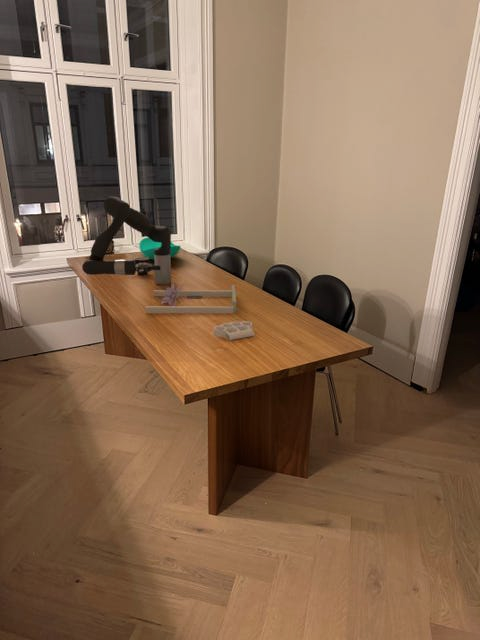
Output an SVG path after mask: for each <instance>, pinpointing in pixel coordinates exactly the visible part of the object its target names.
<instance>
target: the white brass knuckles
mask: <svg viewBox="0 0 480 640" xmlns="http://www.w3.org/2000/svg"><path fill="white" fill-rule="evenodd" d="M213 336H215V337H217V338H225V339H226V340H227V341H229V342H230V341H234V340H239V339H245V338H250V337H255V331H254V329H253V323H252V322H251V321H248V320H243V321H231V322H225V323H224V322H223V323H221V324H219V325H215V326H214V327H213Z"/></svg>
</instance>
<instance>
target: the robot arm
mask: <svg viewBox="0 0 480 640" xmlns="http://www.w3.org/2000/svg"><path fill="white" fill-rule="evenodd" d="M103 209H104V212H106V213H107V214H108V215H109V216H111V217H112V218H113V220H112V222H111V224H110V225H109V226H108V227H107V228H106V229H104V230H103V231H102V232H101V233H99V234H98V235H97V236H96V238H95V240H94V242H93V244H92V246H91V248H90V255H89V258H88V260H85V261H84V262H83V264H82V266H81V267H82V268H81V269H82V271H83V272H84V273H85V274H87V275H91V276H92V275H94V276H95V275H119V276H135V275H136V272H137V271H138V272H140V273H144V272H148V273H151V272H153V271H154V284H156V285H169V284H172V269H171V268H172V267H171V265H172V264H171V258H170V249H171V242H172V241H171V240H172V232H171V230H170V228H169V227H168V226H160V225H154V224H152V222H151V220H150V217H148V216H147V215H145V214H144V213H143V212H141V211H138V210H137V209H134V208H132V207H131V205H130V204H129V203H128V202H126V201H124V200H123V199H121V198H119V197H117V196H109V197H107V198H106V199H105V200H104V203H103ZM124 223H125V224H126V225H128V226H129V227H130V228H132V229H134V230H135V231H137V232H139V233H140V234H143V235H144V236H146V238H150V239H151V240H152V241H154V242H160V243H161V247H159V248H156V249H155V250H154V260H153V261H154V264H152V263H150V262H149V263H145V262H143V263H139V264H136V263H135V259H106V260H104V258H105V256H106V254H107V252H108V249H109V247H110V245H111V243H112V241H113V240H114V238H115V237H116V235H117V233H118V232H119V231H120V230H121V228H122V226H123V225H124Z"/></svg>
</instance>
